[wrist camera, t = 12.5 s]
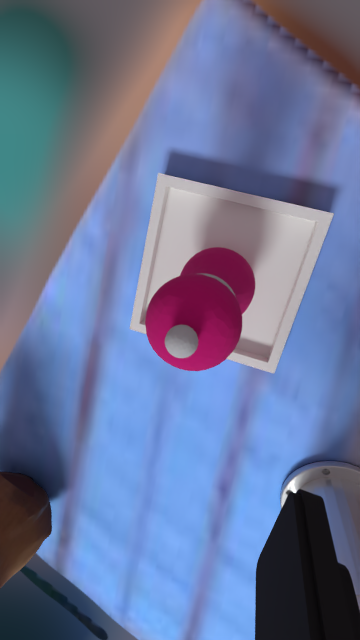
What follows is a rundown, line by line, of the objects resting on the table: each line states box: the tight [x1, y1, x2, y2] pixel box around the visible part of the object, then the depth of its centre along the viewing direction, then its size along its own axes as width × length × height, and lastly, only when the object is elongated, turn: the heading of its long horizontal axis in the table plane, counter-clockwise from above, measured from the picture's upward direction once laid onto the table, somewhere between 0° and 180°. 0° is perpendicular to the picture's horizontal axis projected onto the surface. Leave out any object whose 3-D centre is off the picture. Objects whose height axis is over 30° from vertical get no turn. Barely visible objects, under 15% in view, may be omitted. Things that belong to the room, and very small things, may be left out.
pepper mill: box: [145, 247, 255, 371], centre depth 25 cm, size 7×7×20 cm
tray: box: [130, 173, 334, 373], centre depth 34 cm, size 17×17×2 cm
